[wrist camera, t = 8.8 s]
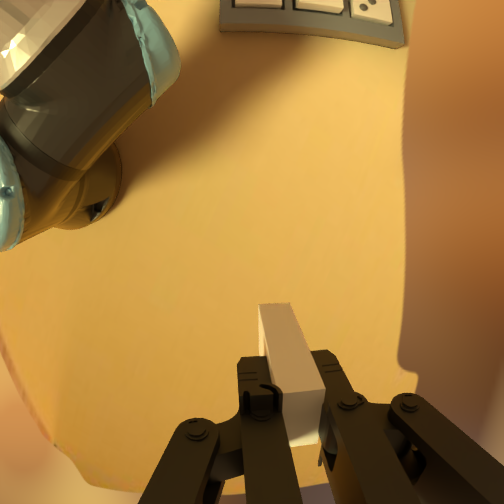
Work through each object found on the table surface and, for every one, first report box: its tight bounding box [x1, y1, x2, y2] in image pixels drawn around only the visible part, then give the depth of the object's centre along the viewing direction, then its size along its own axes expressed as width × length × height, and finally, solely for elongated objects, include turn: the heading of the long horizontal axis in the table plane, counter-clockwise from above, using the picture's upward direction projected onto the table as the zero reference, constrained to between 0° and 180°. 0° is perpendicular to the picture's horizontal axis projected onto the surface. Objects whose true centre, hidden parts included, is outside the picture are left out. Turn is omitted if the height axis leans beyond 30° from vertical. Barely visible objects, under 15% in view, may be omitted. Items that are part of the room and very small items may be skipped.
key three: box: [348, 0, 393, 26], centre depth 34 cm, size 6×6×2 cm
